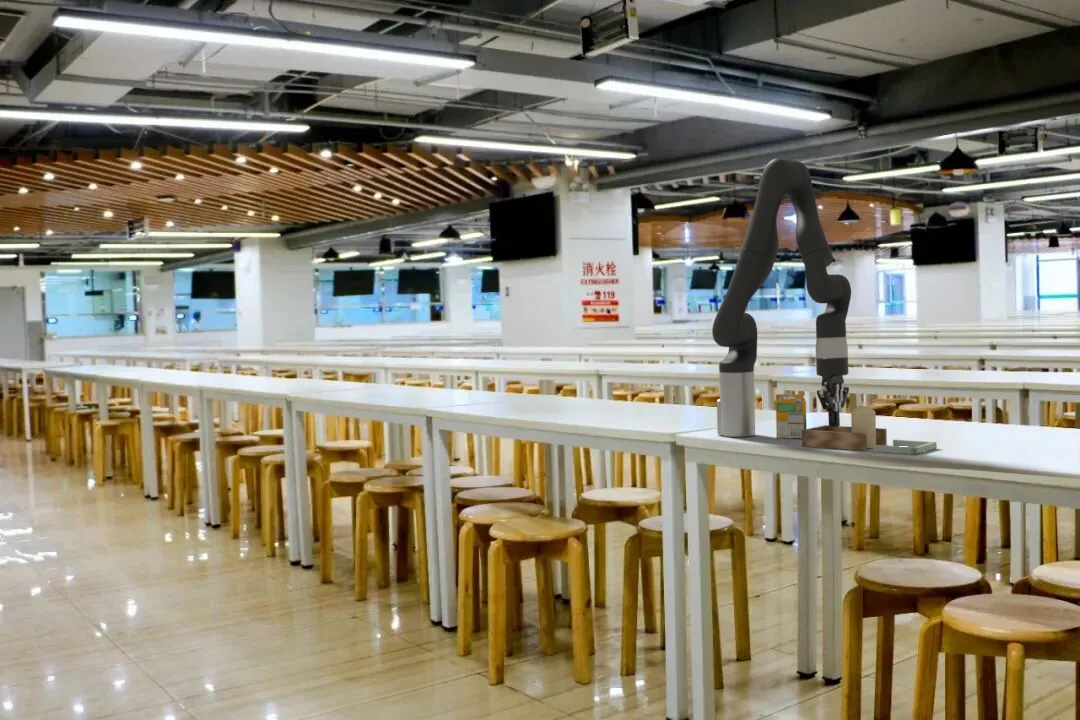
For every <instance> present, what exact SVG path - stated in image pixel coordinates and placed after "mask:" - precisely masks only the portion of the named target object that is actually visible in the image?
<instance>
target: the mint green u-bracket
mask: <svg viewBox="0 0 1080 720" xmlns="http://www.w3.org/2000/svg"><path fill="white" fill-rule="evenodd" d="M899 446H908V447H899ZM935 448H938V447H937V442H936V441H924V440H910V439H909V440H908V439H907V440H905V439H893V440H892V445H873V448H872V452H873V451H874V453H884V452H890V453H889V454H897V453H907V454H906V455H910V454H917V455H919V454H918V453H921V452H924V451H927V452H929V451H928V450H930V451H932V450H931V449H934V450H936V449H935ZM924 453H925V452H924ZM921 454H922V453H921Z"/></svg>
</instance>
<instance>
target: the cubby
mask: <svg viewBox="0 0 1080 720" xmlns="http://www.w3.org/2000/svg"><path fill="white" fill-rule="evenodd" d="M887 435H888V434H887V428H883V427H882V428H881V427H880V428H879V427H876V445H885V446H888V444H887V442H888V440H887V439H888V438H887ZM801 444H802V445H801V446H802V447H804V446H810V447H809V448H817V447H823V448H822V449H830V448H837V449H836V450H844V449H848V450H847V451H857V450H863V451H862V452H866V451H865V450H867V438H866V434H865V433H852V426H845V425H840V426H838V427H830V426H829V424H828V425H827V424H824V425H820V426H819V425H818V426H815V427H811V428H807V429H805V430H802V439H801ZM867 451H868V450H867Z"/></svg>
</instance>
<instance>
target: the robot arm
mask: <svg viewBox="0 0 1080 720" xmlns="http://www.w3.org/2000/svg"><path fill="white" fill-rule="evenodd" d="M784 197H786V198H788V199H789V200H790V202H791V204H792V206H793V210H794V211H795V216H796V217H795V218H796V222H795V223H796V224H795V225H796V226H795V240H796V246H797V248H798V251H799V253H800V257H801V259H802V261H803V262H802V263H803V264H804V274H805V286H806V290H807V294H808V295H809V297H810V298H811V300H813V301H814V302H815V303H817V304H826V306H825V309H824V310H825V311H824V312H822V313H821V314H818V315H817V316H816V318H815V334H816V336H815V338H816V339H815V341H816V342H815V363H816V365H815V368H816V369H815V370H816V375H817V376H818V377H821V383H820V385H821V389H817V390H816V395H817V398H818V400H819V403H820V405H821V407H822V410H826V412H827V413H828V425H829V426H830V427H838V426H841V421H840V420H841V419H840V411H841V410H842V409H844V407H845V405H846V402H847V401H846V400H847V398H848V395H849V391H850V388H849V386H845V380H844V376H847V375H849V353H848V351H849V349H848V342H847V340H848V339H847V324H846V323H847V322H846V320H847V317H848V313H849V308H850V302H851V298H852V288H851V284H850V283H851V282H850V281H849V280H848V278H847V276H844V275H843V274H838V273H837V274H829V273H828V270H827V268H828V267H829V266H831V265H832V263H833V261H834V256H833V253H832V250H831V248H830V245H829V242H828V239H827V237H826V235H825V233H824V229H823V227H822V224H821V219H820V215H819V211H818V207H817V202H816V197H815V193H814V188H813V182H812V178H811V174H810V171H809V168H808V167H807V166H806V164H804V162H801V161H798V160H794V159H788V158H787V159H786V158H783V157H782V158H779V157H778V158H777V157H776V158H773V159H772V160H770V161H769V162H768V163H767V164H766V165H765V167H764V169H763V172H762V174H761V177H760V180H759V185H758V191H757V193H756V199H755V203H754V207H753V210H752V211H753V212H752V215H751V217H750V222H749V225H748V227H747V231H746V235H745V237H744V239H743V242H742V243H743V244H742V246H741V249H740V251H739V254H738V258H737V261H736V265H735V268H734V270H733V273H732V277H731V279H730V282H729V284H728V287H727V291H726V293H725V295H724V297H723V300H722V303H721V304H720V306H719V308H718V311H717V313H716V315H715V318H714V321H713V323H712V324H713V325H712V337H713V338H712V339H713V341H714V342H715V344H716V345H718V346H719V347H724V348H728V353H726V356H725V357H723V359H722V360H720V361H719V363H718V372H719V375H718V376H719V377H718V379H719V399H717V400H716V418H717V419H716V421H717V423H716V426H717V430H716V431H717V435H718V434H719V436H722V435H723V437H732V438H735V437H737V438H740V437H741V438H743V437H751V436H755V435H756V402H755V401H756V400H755V399H756V398H755V397H756V395H755V364H756V361H757V358H758V357H757V356H758V327H757V323H756V320H755V318H754V316H752V315H751V314H750V313H747V312H746V310H747V308H748V305H749V302H750V301H751V300H752V298H753V296H754V295H755V293H757V292H758V290H759V289H760V288H761V287H762V285H763V284H764V282H765V281H767V279H768V277H769V276H770V274H771V273H772V271H773V268H774V265H775V261H776V259H777V255H778V253H779V247H780V246H779V245H780V243H779V242H780V241H779V233H778V225H777V223H778V222H777V218H778V213H779V210H780V207H781V203H782V201H783V198H784Z"/></svg>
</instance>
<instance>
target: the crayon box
mask: <svg viewBox="0 0 1080 720" xmlns="http://www.w3.org/2000/svg"><path fill="white" fill-rule="evenodd" d="M788 397H791V398H793V399H788ZM785 398H787V399H785ZM794 398H795V399H794ZM806 403H807V402H806V400H804V394H798V393H797V394H796V393H795V394H794V393H793V394H792V393H791V394H790V393H789V394H786V393H785V394H783V393H782V394H780V393H779V394H775V423H776V429H775V430H776V439H792V438H800V440H802V439H801V438H802V430H805V429H808V428H807V404H806Z"/></svg>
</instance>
